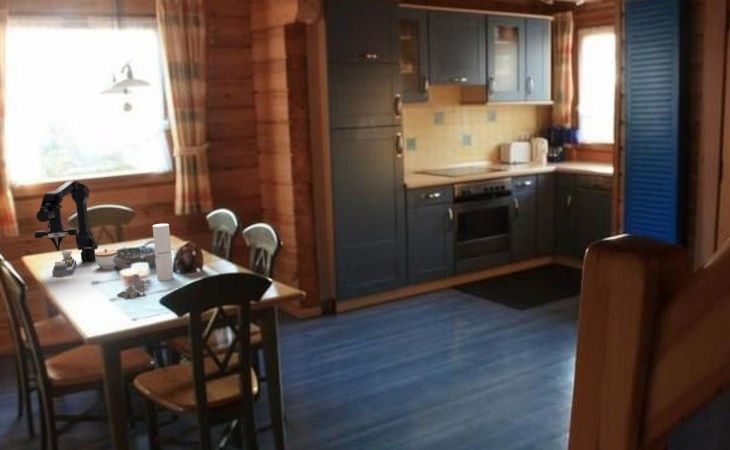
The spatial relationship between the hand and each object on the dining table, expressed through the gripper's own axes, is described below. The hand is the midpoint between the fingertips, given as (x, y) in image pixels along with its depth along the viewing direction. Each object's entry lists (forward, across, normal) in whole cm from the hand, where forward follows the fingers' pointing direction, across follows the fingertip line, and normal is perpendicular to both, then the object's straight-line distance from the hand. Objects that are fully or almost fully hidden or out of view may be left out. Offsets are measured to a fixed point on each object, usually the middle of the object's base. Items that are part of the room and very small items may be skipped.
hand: (58, 250), depth 339 cm
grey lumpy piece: (+12, -34, +53) cm, 64 cm away
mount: (+12, -1, -7) cm, 13 cm away
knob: (+11, 0, 0) cm, 11 cm away
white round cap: (+8, -2, -12) cm, 15 cm away
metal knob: (+9, -4, -6) cm, 12 cm away
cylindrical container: (+12, -48, +32) cm, 59 cm away
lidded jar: (+12, -21, -4) cm, 24 cm away
